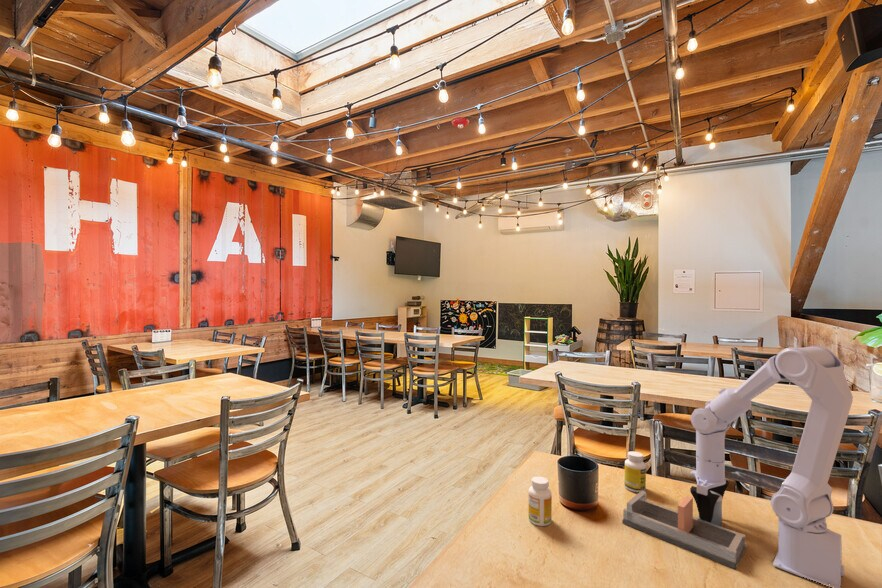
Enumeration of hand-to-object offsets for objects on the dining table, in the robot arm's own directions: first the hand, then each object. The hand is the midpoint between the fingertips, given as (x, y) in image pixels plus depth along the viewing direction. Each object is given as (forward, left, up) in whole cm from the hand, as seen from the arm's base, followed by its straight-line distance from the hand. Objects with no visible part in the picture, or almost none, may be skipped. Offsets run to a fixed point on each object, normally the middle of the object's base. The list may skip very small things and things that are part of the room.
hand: (710, 514), depth 96 cm
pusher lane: (+3, +12, -2) cm, 12 cm away
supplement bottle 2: (+19, -4, -2) cm, 19 cm away
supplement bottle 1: (+28, +30, -2) cm, 41 cm away
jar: (0, 0, -2) cm, 2 cm away
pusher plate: (+2, +11, -1) cm, 12 cm away
